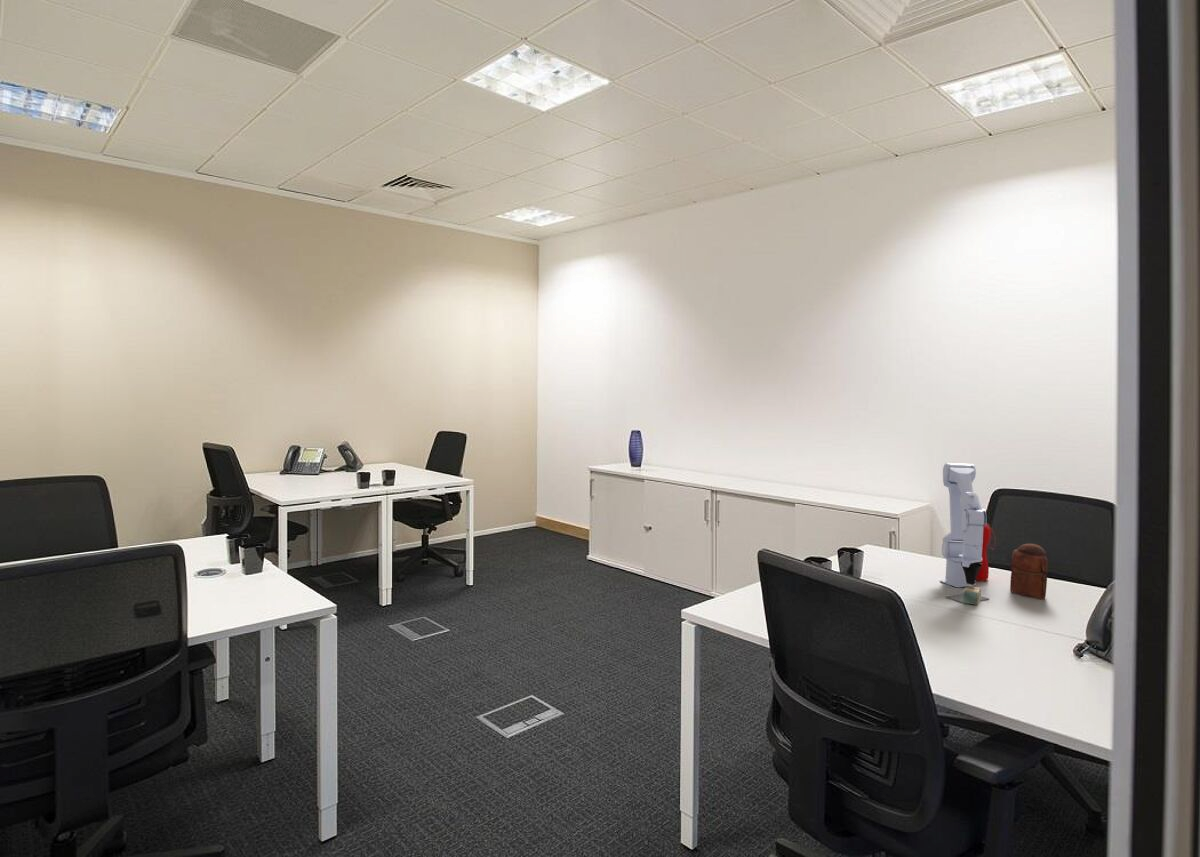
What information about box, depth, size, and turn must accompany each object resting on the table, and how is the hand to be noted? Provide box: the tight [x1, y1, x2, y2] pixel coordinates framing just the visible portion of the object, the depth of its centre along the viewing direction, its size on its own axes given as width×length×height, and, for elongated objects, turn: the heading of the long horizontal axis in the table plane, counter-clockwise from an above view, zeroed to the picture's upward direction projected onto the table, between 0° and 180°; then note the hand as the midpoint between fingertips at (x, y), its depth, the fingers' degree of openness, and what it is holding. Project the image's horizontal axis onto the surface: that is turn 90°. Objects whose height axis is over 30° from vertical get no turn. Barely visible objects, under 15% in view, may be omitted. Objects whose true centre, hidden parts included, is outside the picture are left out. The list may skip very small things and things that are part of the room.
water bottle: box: [975, 522, 997, 582], centre depth 253 cm, size 9×11×25 cm
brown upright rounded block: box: [1009, 543, 1049, 600], centre depth 235 cm, size 12×6×18 cm, turn 39°
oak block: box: [963, 585, 982, 606], centre depth 226 cm, size 4×4×7 cm
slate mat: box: [945, 593, 990, 605], centre depth 230 cm, size 12×7×1 cm, turn 113°
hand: (970, 583), depth 230 cm, fingers closed
